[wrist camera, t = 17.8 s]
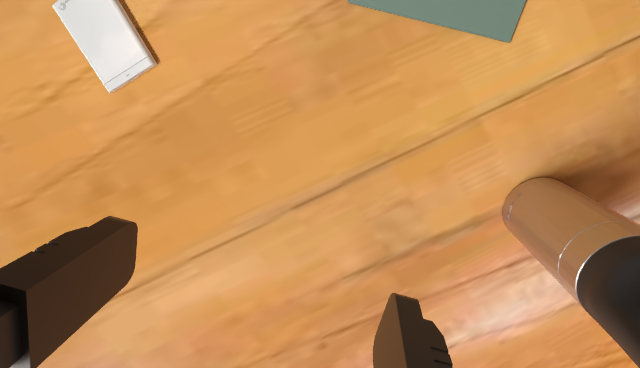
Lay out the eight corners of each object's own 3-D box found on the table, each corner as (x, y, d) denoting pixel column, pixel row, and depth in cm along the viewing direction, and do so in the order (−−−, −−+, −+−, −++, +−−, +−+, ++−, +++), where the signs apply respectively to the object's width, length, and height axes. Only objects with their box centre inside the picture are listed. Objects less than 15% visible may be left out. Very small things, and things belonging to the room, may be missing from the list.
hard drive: (50, 5, 45) (107, 93, 48) (96, -30, 43) (152, 64, 46) (60, 7, 46) (115, 92, 49) (105, -26, 45) (159, 64, 47)
